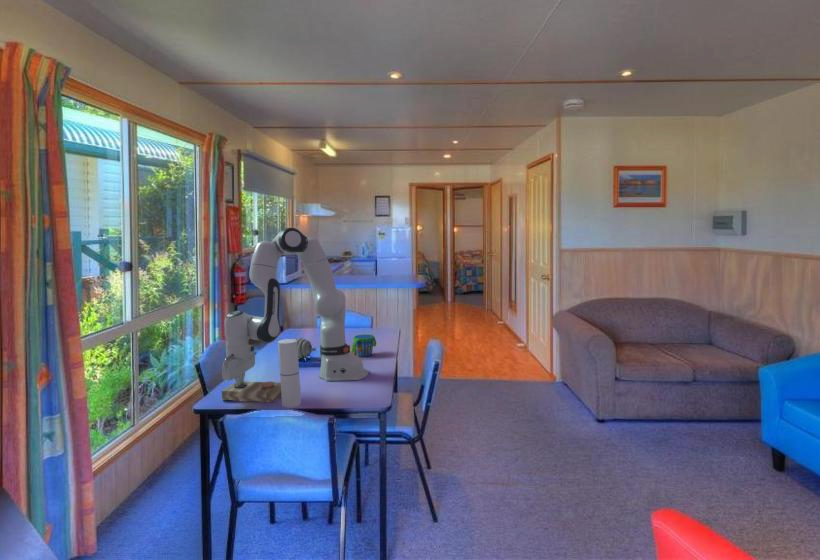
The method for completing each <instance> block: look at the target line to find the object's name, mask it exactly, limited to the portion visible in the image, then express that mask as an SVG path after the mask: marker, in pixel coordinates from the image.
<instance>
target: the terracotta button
mask: <svg viewBox="0 0 820 560" xmlns="http://www.w3.org/2000/svg"><path fill="white" fill-rule="evenodd" d="M263 382H264V383H262V387H264V389H271V388H272V386H273V385H274V382H275V381H263Z"/></svg>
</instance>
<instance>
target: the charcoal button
mask: <svg viewBox="0 0 820 560" xmlns="http://www.w3.org/2000/svg"><path fill="white" fill-rule="evenodd" d="M246 386H247V383H243V384H241V385H237V384H235V385H234V387H235V388H244V387H246Z"/></svg>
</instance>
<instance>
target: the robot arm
mask: <svg viewBox="0 0 820 560" xmlns="http://www.w3.org/2000/svg"><path fill="white" fill-rule="evenodd" d="M276 234H277V235H275V236H274V237H273V238H272V240H271V241H269V240H262V241H260V242H258V243H257V244H256V246H255V248H254V251H253V254H252V257H251V262H250V267H249V272H248V275H249V279H250V281H251V283H252V284H253V285H254V286H255V287H257V288H258V289H259V290H261V292H262V293H263V295H264V315H263V316H258V315H251V314H249V313H246V312H245V311H243V310H234V311H231V312H229V313H228V314H226V315H225V316H224V322H223V324H224V336H225V339H226V342H225V354H226V357H225V358H224V361H223V363H222V364H221V365H222V367H221V377H222V380H224V381H232V380H234V379H235V382H236V384H237V385H241V384H243V383H244V382H245V376H246V372H247V371H249V370H251V369H252V368H254V367H255V364H256V355H255V350H256V347H255V345H252V344H251V345H250V344H249V340H251V339H252V340H255V341H260V342H264V343H269V344H270V343H272V342H274V341H275V340H276V339H277V338H278V337H279V335H280V333H281V323H280V307H281V306H280V305H281V304H280V300H281V286H280V282H279V281H278V276H277V274H278V273H277V272H278V266H279V265H278V264H279V261H280V259H281V258H283V257H289V256H292V255H296V256H298V258H299V259H300V261H301V264H302V266H303V268H304V272H305V274H306V277H307V279H308V282H309V284H310V285H309V286H310V290H311V295H312V297H313V298H312V299H313V302H314V308H315V311H316V313H317V314H318V315H319V317H320V318H321V320H320V327H319V332H320V333H319V334H320V335H319V336H320V345H319V348H320V349H319V354H320V370H319V374H318V377H319V378H320V379H323V380H325V381H326V382H340V381H341V382H342V381H343V382H344V381H361V380H362V379H365V378H367V377H368V375H369V373H370V372H369V369H368V368H364V363H363V360H362V359H361V357H359V356H358V355H355V354H354V352H351V344H347V343H346V325H345V324H346V301H347V299H346V296H345V293H344V292H343V291H342V290H341V289H339V288H336V287H337V286H336V282H335V278H334V273H333V270H332V268H331V265H330V263H329V262H330V261H329V260H328V258H327V255H326V252H325V251H324V249H323V247H322V245H321V243H320V242H319V241H318V239H317V238H315V237H314V238H313V237H307V236H305V235H304V234H303V232H301V230H299V229H297V228H295V227H287V228H284V229H282V230H280V231H279V232H278V233H276Z"/></svg>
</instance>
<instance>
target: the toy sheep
mask: <svg viewBox="0 0 820 560" xmlns="http://www.w3.org/2000/svg"><path fill="white" fill-rule="evenodd" d="M295 339H296V340H297V348H298V358H306V359H307V357H308V356H310V357H311V354H312V352H316V350H317V348H316V347H312V344H311V341H310V340H307V339H305V338H295Z"/></svg>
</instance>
